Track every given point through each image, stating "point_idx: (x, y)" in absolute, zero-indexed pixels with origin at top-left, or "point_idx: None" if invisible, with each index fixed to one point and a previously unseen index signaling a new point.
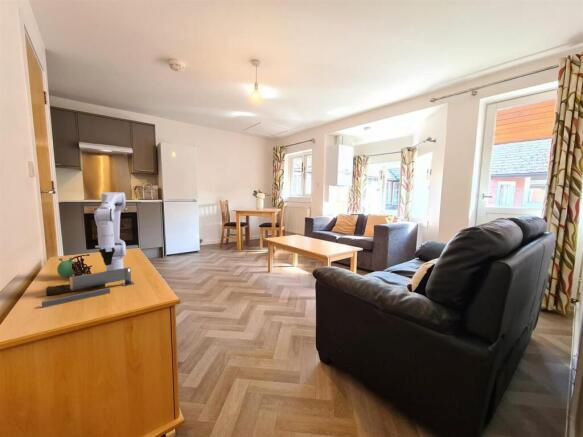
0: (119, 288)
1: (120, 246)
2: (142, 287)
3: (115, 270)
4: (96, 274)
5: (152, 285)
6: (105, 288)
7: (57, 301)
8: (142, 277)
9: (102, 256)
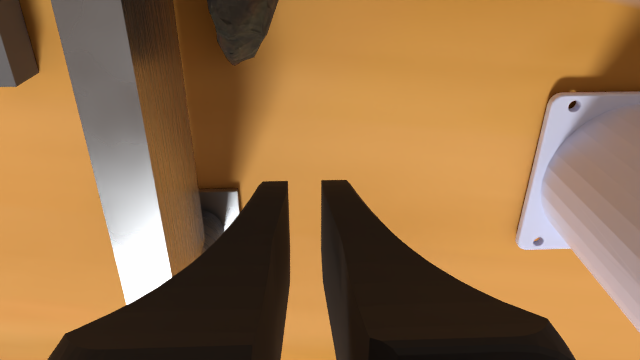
0: None
1: None
2: (25, 293)
3: (117, 242)
4: (58, 8)
5: (40, 347)
6: (3, 51)
7: None
8: (320, 326)
9: (348, 257)
